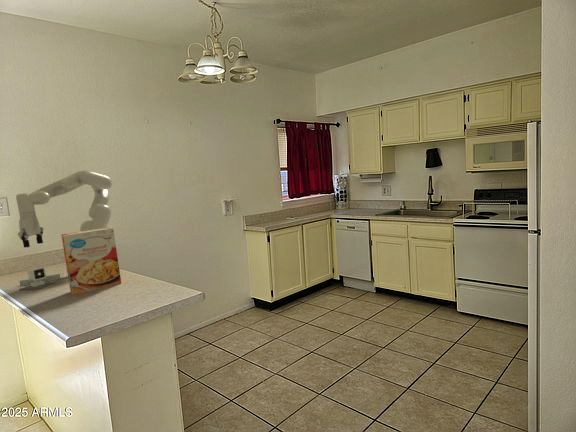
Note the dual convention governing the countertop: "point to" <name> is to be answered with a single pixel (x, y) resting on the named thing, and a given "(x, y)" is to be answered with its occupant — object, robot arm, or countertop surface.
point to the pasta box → (91, 260)
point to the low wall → (48, 278)
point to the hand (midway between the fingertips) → (33, 245)
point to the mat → (36, 286)
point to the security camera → (36, 275)
